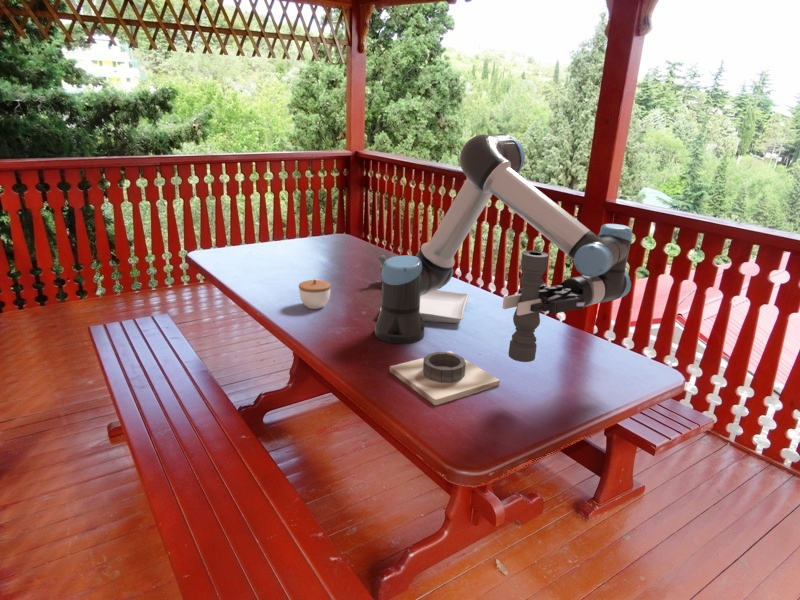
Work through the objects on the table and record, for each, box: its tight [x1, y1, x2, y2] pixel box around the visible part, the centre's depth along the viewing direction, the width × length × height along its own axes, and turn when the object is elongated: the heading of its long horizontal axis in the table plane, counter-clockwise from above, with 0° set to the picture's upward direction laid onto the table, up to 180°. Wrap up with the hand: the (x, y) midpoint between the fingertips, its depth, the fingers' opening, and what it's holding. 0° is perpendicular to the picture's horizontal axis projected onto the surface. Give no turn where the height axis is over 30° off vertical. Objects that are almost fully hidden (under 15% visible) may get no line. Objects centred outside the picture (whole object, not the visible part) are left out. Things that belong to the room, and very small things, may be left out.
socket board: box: [389, 350, 500, 407], centre depth 139 cm, size 20×20×5 cm
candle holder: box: [508, 250, 549, 363], centre depth 124 cm, size 6×6×25 cm
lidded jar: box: [298, 279, 332, 310], centre depth 186 cm, size 11×11×9 cm
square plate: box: [379, 289, 470, 324], centre depth 187 cm, size 27×27×4 cm
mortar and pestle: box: [377, 254, 387, 274], centre depth 213 cm, size 11×9×12 cm
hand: (511, 306), depth 121 cm, fingers closed on candle holder, 4 cm apart
